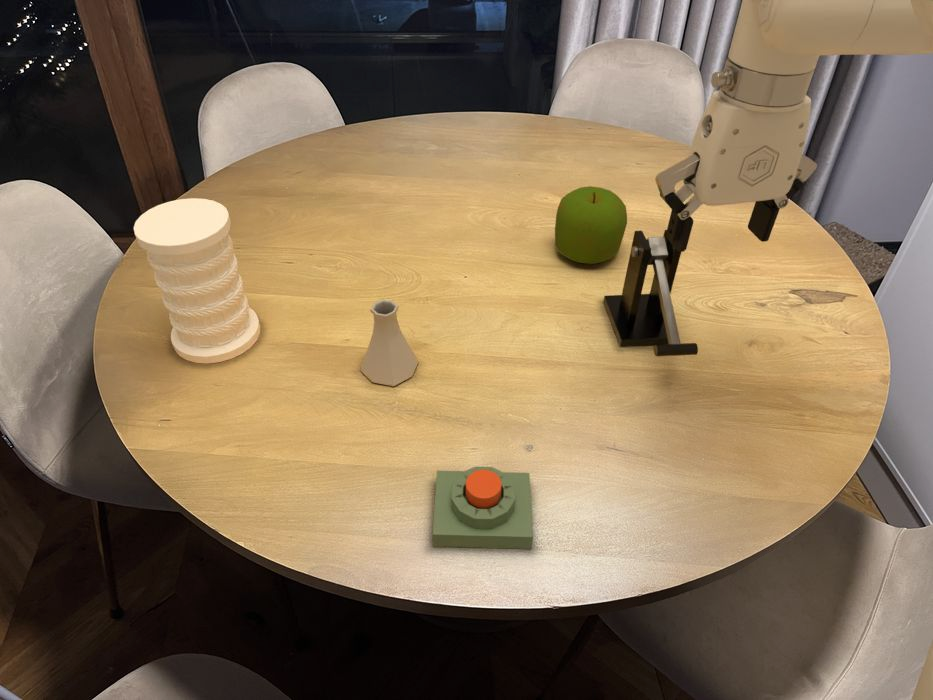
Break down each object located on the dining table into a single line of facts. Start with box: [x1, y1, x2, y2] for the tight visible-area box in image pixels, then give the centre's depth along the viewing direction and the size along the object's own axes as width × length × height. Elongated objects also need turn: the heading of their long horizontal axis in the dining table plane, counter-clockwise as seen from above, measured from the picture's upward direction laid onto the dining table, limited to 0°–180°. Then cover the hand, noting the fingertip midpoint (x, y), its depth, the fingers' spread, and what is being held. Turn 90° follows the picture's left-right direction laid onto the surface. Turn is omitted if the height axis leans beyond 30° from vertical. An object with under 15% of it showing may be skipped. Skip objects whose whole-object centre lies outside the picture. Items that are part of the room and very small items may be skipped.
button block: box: [432, 466, 534, 550], centre depth 70 cm, size 10×8×4 cm
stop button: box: [466, 470, 502, 508], centre depth 69 cm, size 4×4×2 cm
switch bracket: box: [603, 229, 682, 347], centre depth 91 cm, size 10×8×14 cm
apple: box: [554, 185, 628, 265], centre depth 105 cm, size 11×11×11 cm
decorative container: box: [133, 197, 261, 364], centre depth 87 cm, size 12×12×18 cm
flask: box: [359, 298, 420, 387], centre depth 85 cm, size 7×7×10 cm
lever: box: [646, 236, 699, 358], centre depth 85 cm, size 16×5×2 cm, turn 5°
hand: (716, 239), depth 74 cm, fingers open, 9 cm apart
